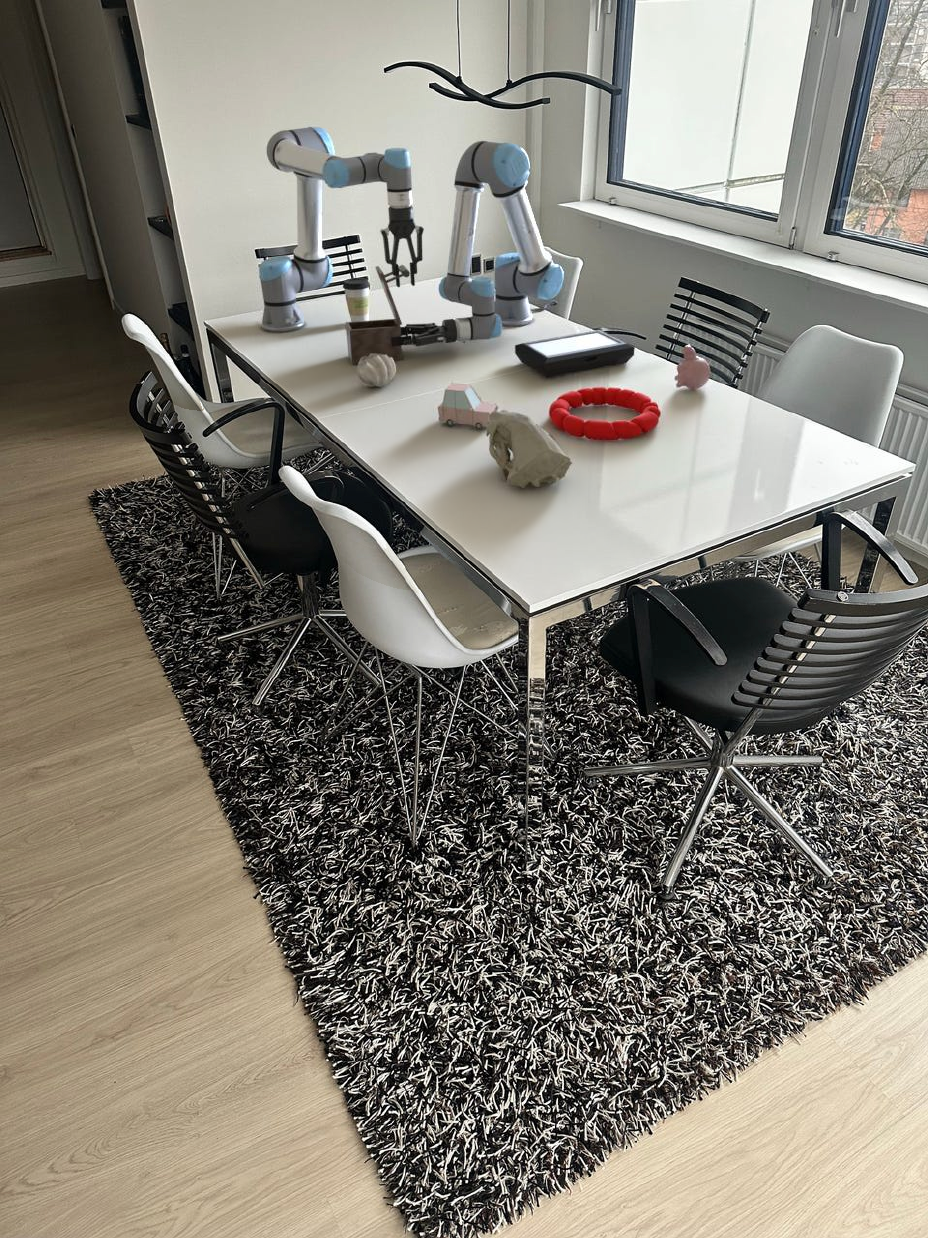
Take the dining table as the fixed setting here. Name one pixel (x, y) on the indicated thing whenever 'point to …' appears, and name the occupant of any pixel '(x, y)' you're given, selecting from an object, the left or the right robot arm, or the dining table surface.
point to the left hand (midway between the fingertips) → (405, 285)
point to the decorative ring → (604, 428)
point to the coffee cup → (357, 298)
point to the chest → (373, 339)
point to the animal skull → (525, 450)
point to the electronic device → (574, 353)
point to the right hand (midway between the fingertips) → (389, 337)
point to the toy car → (465, 406)
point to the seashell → (376, 369)
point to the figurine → (692, 370)
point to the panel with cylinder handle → (387, 291)
